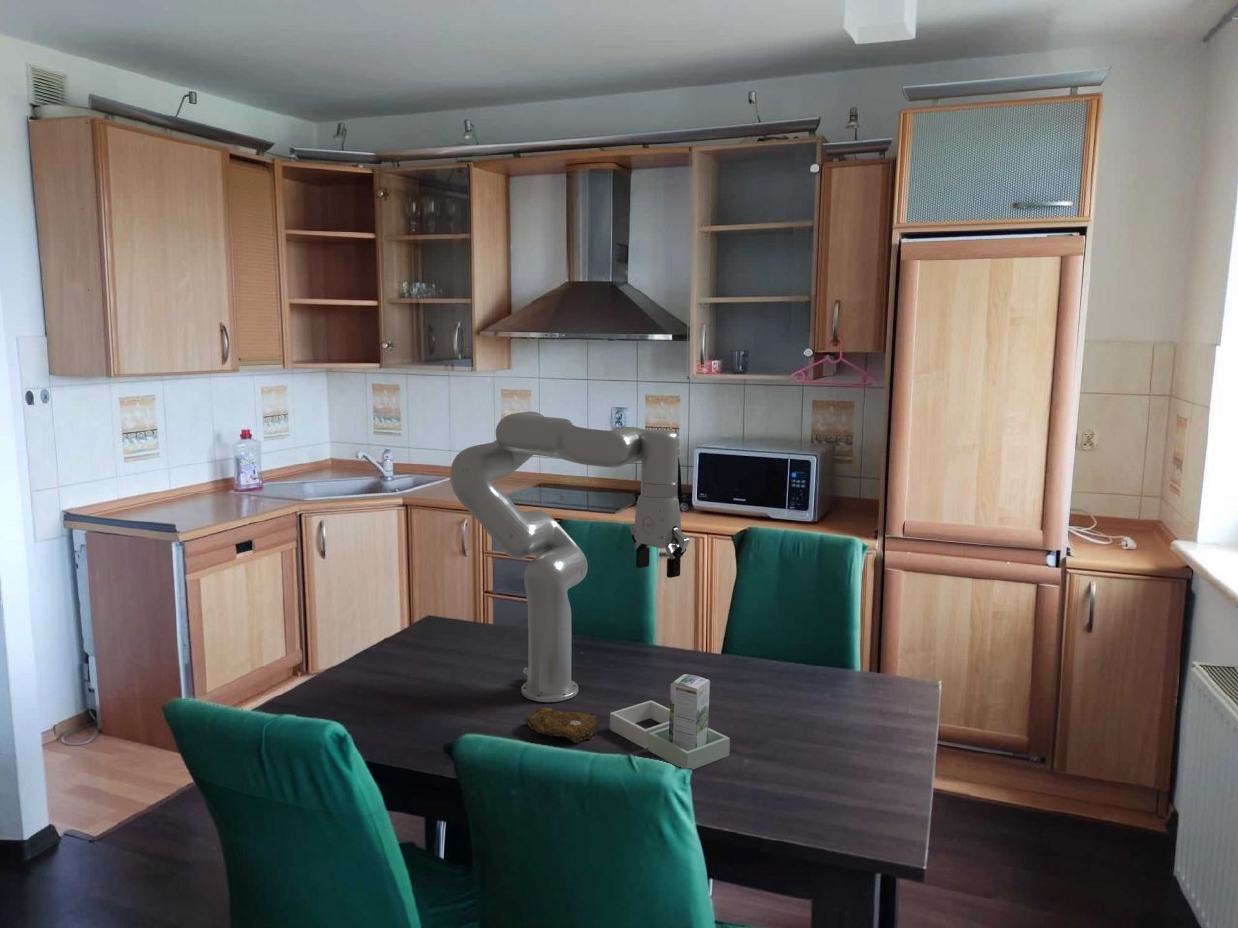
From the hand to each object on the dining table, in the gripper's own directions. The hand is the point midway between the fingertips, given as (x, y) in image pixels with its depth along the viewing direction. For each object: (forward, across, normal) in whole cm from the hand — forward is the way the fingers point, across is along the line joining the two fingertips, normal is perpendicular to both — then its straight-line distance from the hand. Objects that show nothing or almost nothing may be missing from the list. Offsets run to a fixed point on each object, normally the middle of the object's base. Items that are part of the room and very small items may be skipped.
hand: (657, 571), depth 191 cm
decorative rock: (+31, -4, -22) cm, 38 cm away
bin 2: (+30, +19, -8) cm, 37 cm away
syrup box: (+31, +19, -8) cm, 37 cm away
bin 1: (+30, +7, -8) cm, 32 cm away
